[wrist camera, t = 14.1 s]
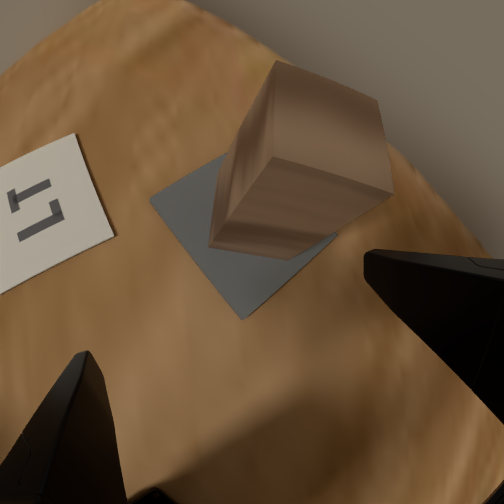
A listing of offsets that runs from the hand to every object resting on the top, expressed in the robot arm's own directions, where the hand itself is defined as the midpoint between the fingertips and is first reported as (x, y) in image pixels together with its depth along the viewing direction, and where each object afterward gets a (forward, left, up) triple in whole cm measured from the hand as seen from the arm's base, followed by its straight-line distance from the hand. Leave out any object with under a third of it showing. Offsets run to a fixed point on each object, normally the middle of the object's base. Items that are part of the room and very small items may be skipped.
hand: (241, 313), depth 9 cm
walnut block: (+3, -8, -11) cm, 14 cm away
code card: (+13, +4, -12) cm, 18 cm away
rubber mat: (+3, -8, -12) cm, 15 cm away
